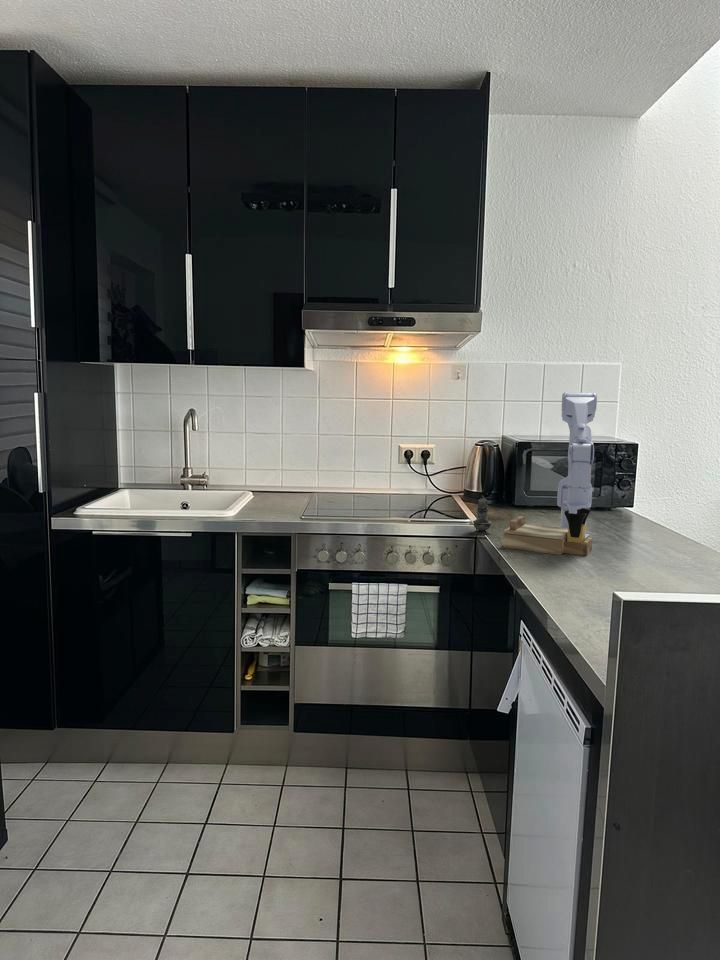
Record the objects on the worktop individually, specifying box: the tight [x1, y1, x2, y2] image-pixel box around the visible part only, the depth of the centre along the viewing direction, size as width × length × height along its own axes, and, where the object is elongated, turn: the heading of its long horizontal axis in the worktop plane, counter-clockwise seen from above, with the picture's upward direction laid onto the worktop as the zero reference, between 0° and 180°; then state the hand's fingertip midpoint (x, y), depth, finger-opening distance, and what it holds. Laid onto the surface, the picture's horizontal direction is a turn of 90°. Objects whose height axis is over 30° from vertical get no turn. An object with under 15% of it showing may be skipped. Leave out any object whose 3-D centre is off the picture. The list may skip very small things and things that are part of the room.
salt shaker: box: [472, 495, 492, 536], centre depth 204 cm, size 6×6×12 cm
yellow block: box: [567, 524, 587, 543], centre depth 181 cm, size 4×4×7 cm
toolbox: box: [502, 532, 593, 556], centre depth 185 cm, size 13×22×4 cm, turn 61°
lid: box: [503, 515, 568, 540], centre depth 186 cm, size 13×16×3 cm
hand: (576, 535), depth 181 cm, fingers closed on yellow block, 4 cm apart
